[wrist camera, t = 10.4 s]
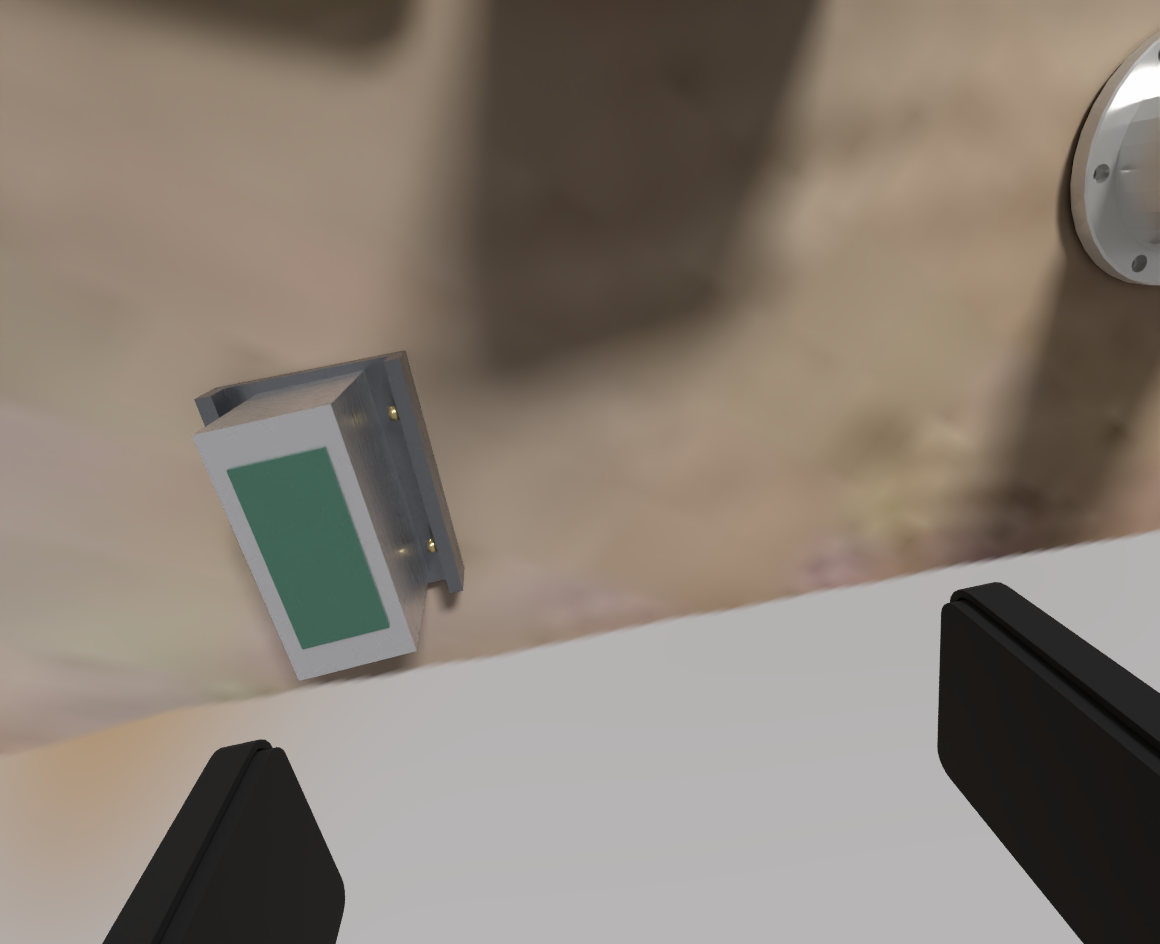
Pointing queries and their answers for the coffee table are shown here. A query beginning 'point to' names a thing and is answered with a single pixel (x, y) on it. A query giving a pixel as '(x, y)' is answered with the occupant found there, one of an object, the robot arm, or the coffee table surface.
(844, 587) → the coffee table surface
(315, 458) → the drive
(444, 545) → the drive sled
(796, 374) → the coffee table surface
